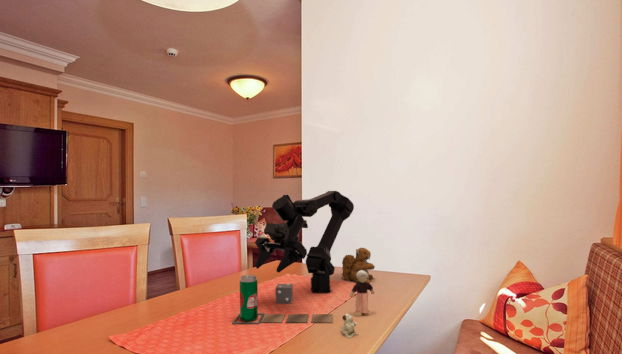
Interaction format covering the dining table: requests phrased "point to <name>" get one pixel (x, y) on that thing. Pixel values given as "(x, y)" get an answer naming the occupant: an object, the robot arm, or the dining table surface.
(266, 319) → the game track
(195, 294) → the dining table surface
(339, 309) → the dining table surface
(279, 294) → the die
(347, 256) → the stuffed squirrel
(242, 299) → the soda can
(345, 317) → the toy dog
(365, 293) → the grandmother figurine
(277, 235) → the robot arm
